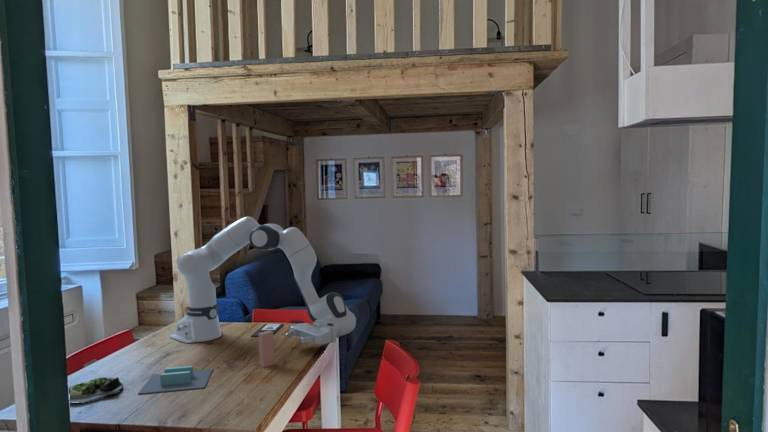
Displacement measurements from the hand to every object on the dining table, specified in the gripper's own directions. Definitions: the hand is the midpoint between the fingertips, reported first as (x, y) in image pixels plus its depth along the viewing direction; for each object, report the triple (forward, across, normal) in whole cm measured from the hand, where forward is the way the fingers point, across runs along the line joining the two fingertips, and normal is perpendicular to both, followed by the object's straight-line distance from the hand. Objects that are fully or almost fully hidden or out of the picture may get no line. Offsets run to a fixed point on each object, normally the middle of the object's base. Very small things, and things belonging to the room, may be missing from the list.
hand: (293, 338), depth 184 cm
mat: (+40, -9, +7) cm, 42 cm away
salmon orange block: (+12, 0, +7) cm, 14 cm away
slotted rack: (+40, -9, +7) cm, 42 cm away
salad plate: (+62, -21, +8) cm, 66 cm away
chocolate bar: (-12, -37, +8) cm, 40 cm away
